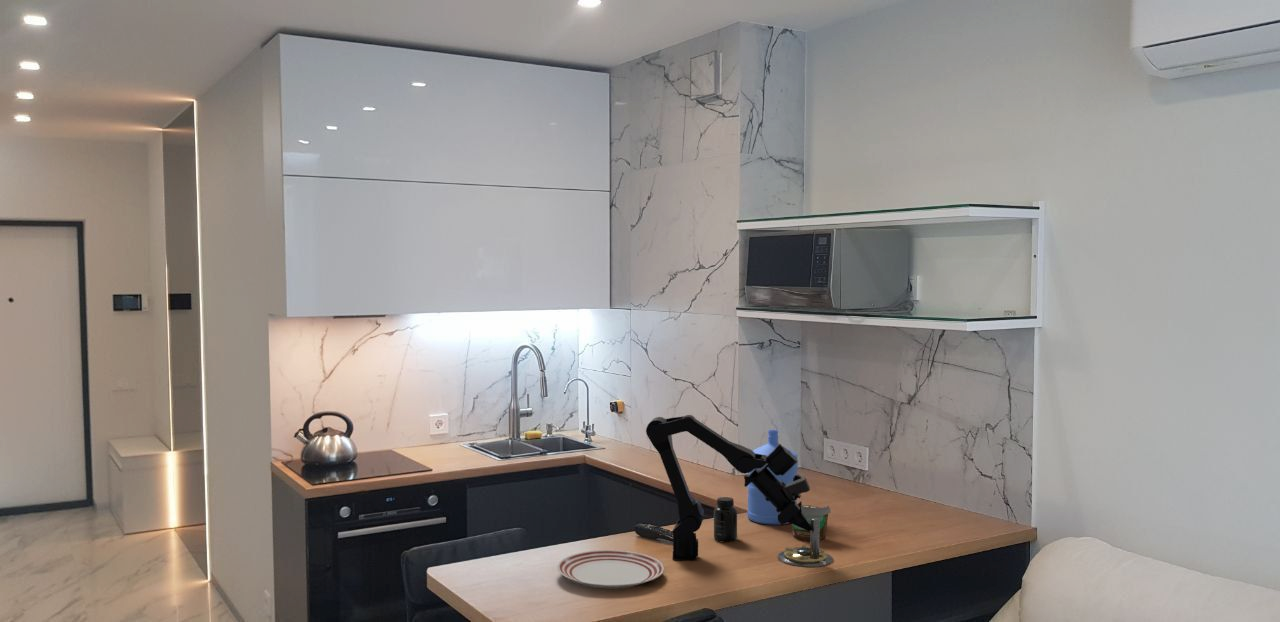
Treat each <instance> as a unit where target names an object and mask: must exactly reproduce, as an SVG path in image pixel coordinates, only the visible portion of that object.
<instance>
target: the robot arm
mask: <svg viewBox="0 0 1280 622" xmlns="http://www.w3.org/2000/svg"><path fill="white" fill-rule="evenodd" d="M645 428H646V429H645V433H646V436H647V438H648V440H649V442H650V443H651V445H652V446H653V448H654V449H655V450H656V451H657V453H658V454H659V456H660V460H661V461H662V465H663V467H664V470H665V474H666V475H667V478H668V480H669V483H670V487H671V489H672V491H673V494H674V496H675V499H676V503H677V511H678V519H679V520H677V521H676V523H675V525H674V527H673V528H672V531H671V533H672V538H673V539H672V560H673V561H674V560H675V561H676V560H677V561H679V560H680V561H696V560H697V557H698V556H699V539H698V538H697V531H699V530H700V528H701V526H702V523H703V521H704V514H705V510H704V509H703V506H702V504H701V500H700V498H697V499H694V497H693V495H692V494H691V492H690V490H689V486H688V484H687V482H686V478H685V476H684V474H683V470H682V468H681V465H680V462H679V460H678V457H677V454H676V452H675V449H674V446H673V436H672V435H677V434H680V433H683V432H684V433H685V432H686V433H689V434H690V435H692V436H694V437H695V438H696V439H698V440H700V441H701V442H702V443H704V444H706V445H707V446H709V447H710V448H712V449H713V450H714V451H716V452H717V453H718V454H720V455H722V456H723V457H724V458H725V459H726V461H727V462H729V464H730V465H731V466H732V467H734V469H735V470H736V471H737V472H739V473H741V474H744V476H743V479H744V484H743V485H744V487H747V488H748V485H749V484H750V483H751V482H752V483H753V484H754V486H755V487H756V488H757V489H758V490H759V491H760V492H761V493H762V494H763V495H764V496H765V499H766V500H767V501H770V502H771V504H772V505H773V506H774V507H775V508H776V511H777V512H778V521H779V522H780V523H781V524H782V525H781V526H784V525H786V524H785V523H786V522H788V523H789V524H791V525H792V524H793V525H796V526H798V527H801V528H803V529H805V530H807V531H811V530H812V527H811V525H810V523H809V522H808V520H807V518H806V517H805V515H804V513H803V511H802V506H803V501H802V500H801V501H799V502H798V503H796V502H795V500H796V499H797V500H798V499H801V497H802V495H801V494H803V493H808V492H809V491H810V490H811V487H810V485H809V482H808V479H807V477H806V476H801V475H800V474H798V473H797V475H795V476H793V482H790V483H789V484H785V483H784V482H782V481H781V482H780V481H779V480H778V479H777V478H776V477H775V476H774V475H773V474H772V473H771V472H770V471H769V470H768V469H767V467H769V469H770V470H771V471H772V472H773V473H774V474H775V475H782V476H783V475H784V474H785V473H786V472H788V471H789V470H790V469H791V468H792V467H793V466H794V465H795V464H796V463H797V462H798V463H799V460H798V458H797V459H796V458H795V456H794V455H793V454H792V453H791V452H790V451H788V450H787V449H788V448H787V447H785V446H783V445H782V444H781V443H778V444H779V445H778V446H776V448H775V449H774V450H773V451H772V452H771V453H770V454H769V455H768V456H767V455H761V454H756V453H754V452H753V451H752V449H750V448H748V447H745V446H744V445H741V444H738V443H735V442H732V441H730V440H728V439H727V438H725V437H724V436H722V435H720V433H717V432H716V431H714V430H713V429H711V428H710V427H709V426H707V425H705V424H704V423H703V422H701V421H700V420H698V419H697V418H696V417H694V415H692V414H687V415H683V416H677V417H676V416H675V417H668V418H665V417H662V416H656V417H654V418H652V419H651V421H650V422H649V423H648V424H647V425H646V427H645ZM786 448H787V449H786ZM797 460H798V461H797ZM766 463H767V464H766ZM765 464H766V465H765ZM764 465H765V466H764ZM763 466H764V467H763ZM762 467H763V468H762ZM757 468H762V469H760V470H758V469H757ZM753 469H755V470H754V471H753V472H752V473H751V474H750V475H748V473H749V472H751V471H752V470H753Z"/></svg>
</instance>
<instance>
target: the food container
mask: <svg viewBox="0 0 1280 622" xmlns="http://www.w3.org/2000/svg"><path fill="white" fill-rule="evenodd" d="M802 511H803V513H804V515H805V517H806V518H807V520H808V522H809V523H810V525H811V519H812V518H817V519H820V533H819V542H822V541H824V540H825V539H826V537H827V536H826V535H827V527H828V521H829V519H828V518H829V515H830V514H831V512H832V511H831V507H830V505H829V504H828V505H827V506H824V507H821V506H820V507H818V506H815V505H810V504H809V505H807V504H806V505H802ZM791 525H792V537H793V538H794V539H795V540H798V541H800V542H807V543H810V531H807V530H805V529H803V528H801V527H798V526H796V525H793V524H791Z"/></svg>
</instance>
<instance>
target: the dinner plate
mask: <svg viewBox="0 0 1280 622" xmlns="http://www.w3.org/2000/svg"><path fill="white" fill-rule="evenodd" d="M556 568H557V571H558V572H559V573H560V575H562V576H563V577H565V578H566V579H568V580H569V581H572V582H574V583H577V584H581V585H584V586H587V587H589V588H595V589H609V590H610V589H611V590H612V589H613V590H614V589H615V590H616V589H624V588H625V589H626V588H630V587H631V588H632V587H634V586H638V585H642V584H644V583H647V582H650V581H654V580H656V579H657V578H659V577H661V576H662V575H663V573H664V572H665V566H664V564H663V563H662V562H661V561H660V560H658V559H657V558H655V557H653V556H650V555H647V554H644V553H640V552H635V551H627V550H619V549H618V550H617V549H597V550H596V549H595V550H587V551H586V550H585V551H581V552H577V553H574V554H570V555H569V556H566V557H564V558H562V559H561V560H560V561H559V562H558V563H557V566H556Z"/></svg>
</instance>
